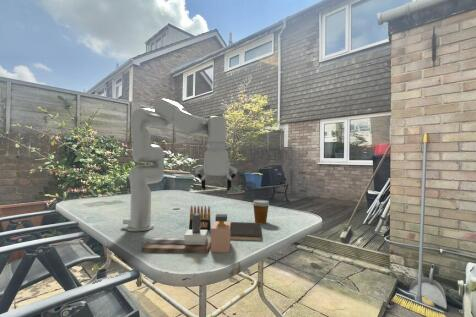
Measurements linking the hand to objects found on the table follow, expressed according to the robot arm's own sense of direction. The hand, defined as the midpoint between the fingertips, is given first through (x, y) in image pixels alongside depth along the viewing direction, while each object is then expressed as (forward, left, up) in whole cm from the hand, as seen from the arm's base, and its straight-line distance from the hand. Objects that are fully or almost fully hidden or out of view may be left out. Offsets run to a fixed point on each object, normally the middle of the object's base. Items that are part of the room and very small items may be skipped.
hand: (216, 190), depth 95 cm
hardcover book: (+12, +21, -24) cm, 34 cm away
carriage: (-8, 0, -21) cm, 23 cm away
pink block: (+2, 0, -23) cm, 23 cm away
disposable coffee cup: (+22, +40, -23) cm, 51 cm away
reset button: (+2, 0, -16) cm, 16 cm away
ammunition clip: (-10, +24, -23) cm, 35 cm away
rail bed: (-15, 0, -23) cm, 27 cm away
